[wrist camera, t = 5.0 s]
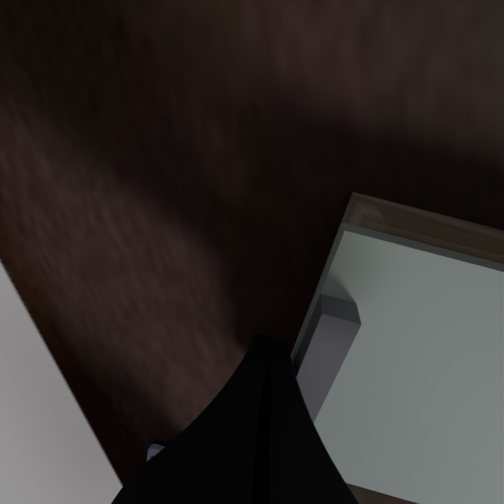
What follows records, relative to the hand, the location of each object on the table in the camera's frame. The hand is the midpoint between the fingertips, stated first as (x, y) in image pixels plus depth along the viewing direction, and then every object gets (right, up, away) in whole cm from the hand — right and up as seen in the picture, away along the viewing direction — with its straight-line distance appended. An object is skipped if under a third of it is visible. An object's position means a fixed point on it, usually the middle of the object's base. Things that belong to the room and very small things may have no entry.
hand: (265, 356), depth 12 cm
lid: (+6, -1, 0) cm, 6 cm away
